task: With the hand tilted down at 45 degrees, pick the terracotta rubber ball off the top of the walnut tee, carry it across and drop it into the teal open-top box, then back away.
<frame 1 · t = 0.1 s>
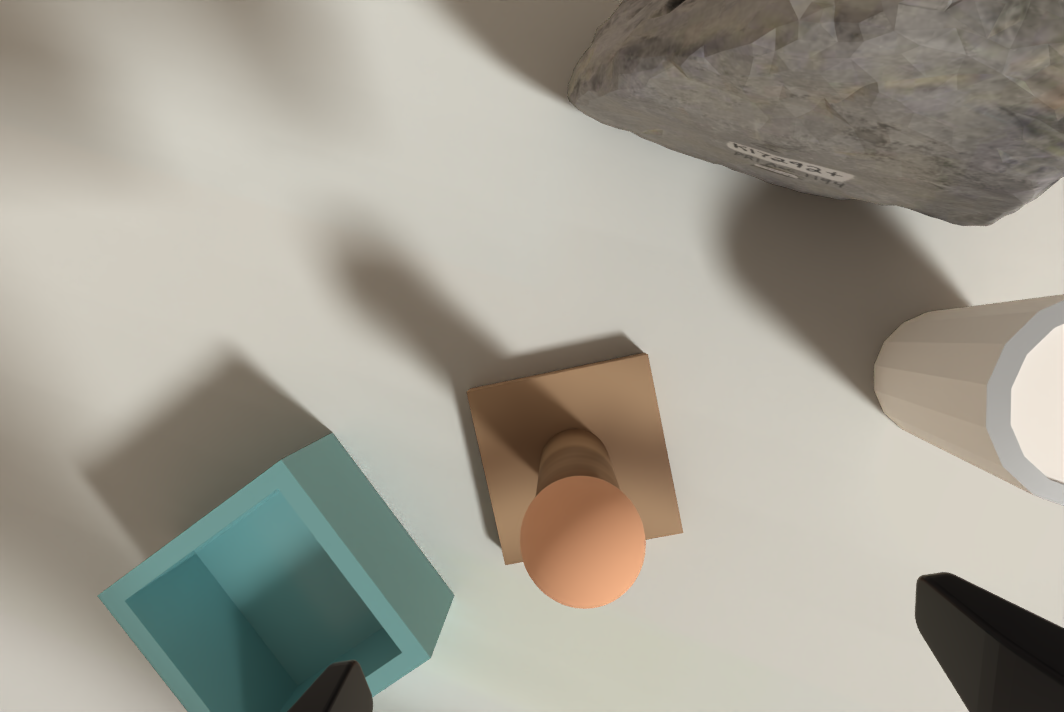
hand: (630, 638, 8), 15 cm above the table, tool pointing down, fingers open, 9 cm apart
ball: (579, 515, 17), point 7 cm above the table, touching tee
teal open-top box: (315, 570, 25), on the table
decorative rock: (756, 138, 23), on the table
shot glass: (936, 374, 23), on the table
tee: (574, 456, 24), on the table
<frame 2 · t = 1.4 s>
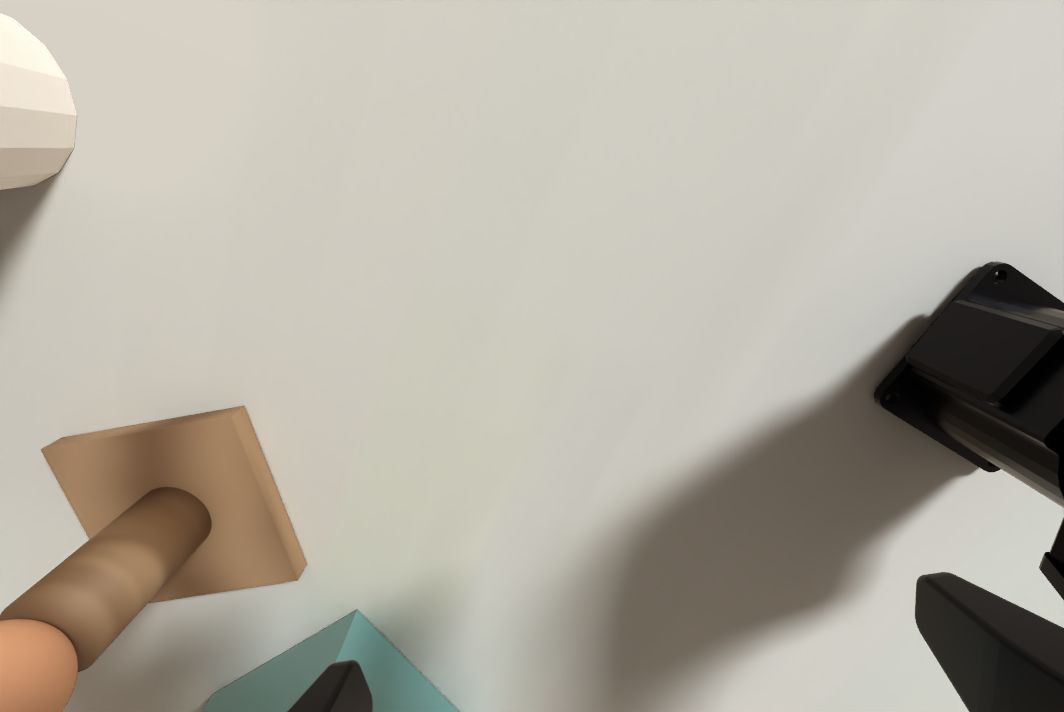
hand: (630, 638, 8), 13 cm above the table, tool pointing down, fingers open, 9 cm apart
ball: (48, 637, 16), point 7 cm above the table, touching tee
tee: (190, 503, 23), on the table
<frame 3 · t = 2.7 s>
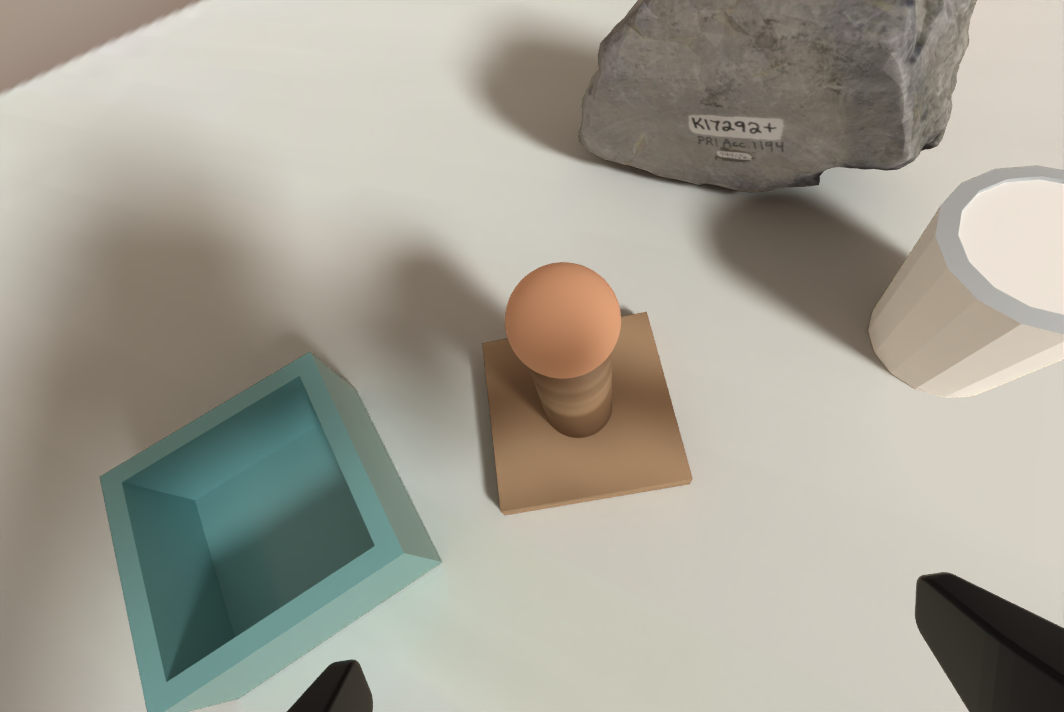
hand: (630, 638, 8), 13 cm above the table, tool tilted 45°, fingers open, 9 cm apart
ball: (567, 346, 18), point 7 cm above the table, touching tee
teal open-top box: (303, 527, 24), on the table
decorative rock: (727, 176, 29), on the table
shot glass: (935, 340, 24), on the table
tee: (579, 412, 24), on the table
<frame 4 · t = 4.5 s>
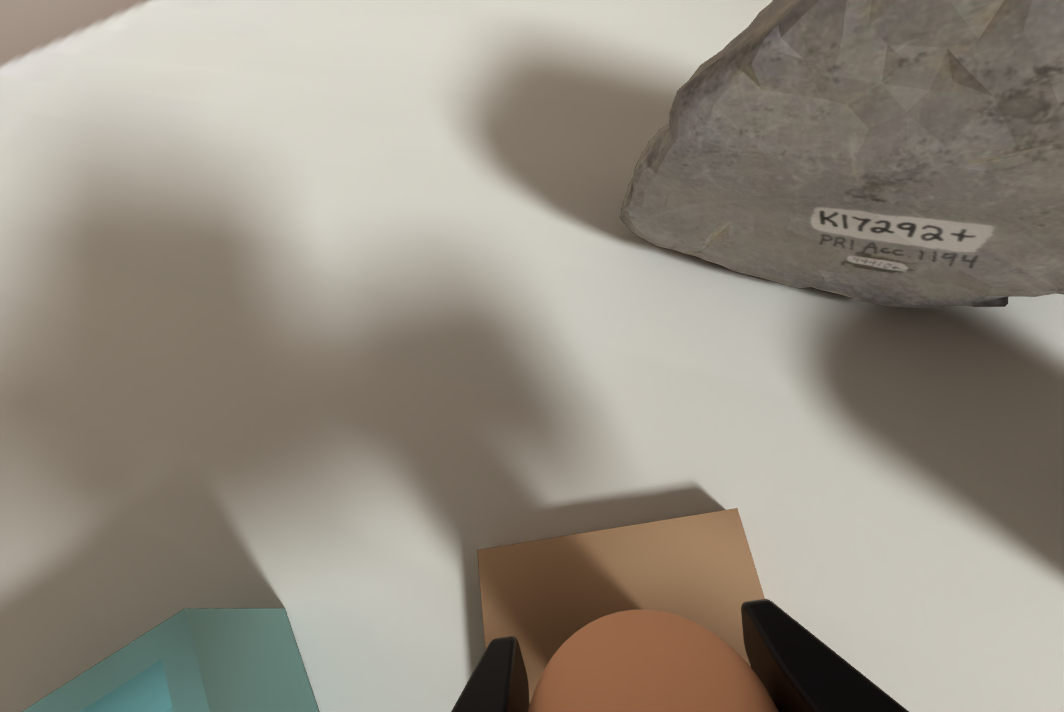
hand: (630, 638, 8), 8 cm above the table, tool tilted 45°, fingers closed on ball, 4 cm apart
decorative rock: (836, 271, 20), on the table
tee: (632, 677, 15), on the table
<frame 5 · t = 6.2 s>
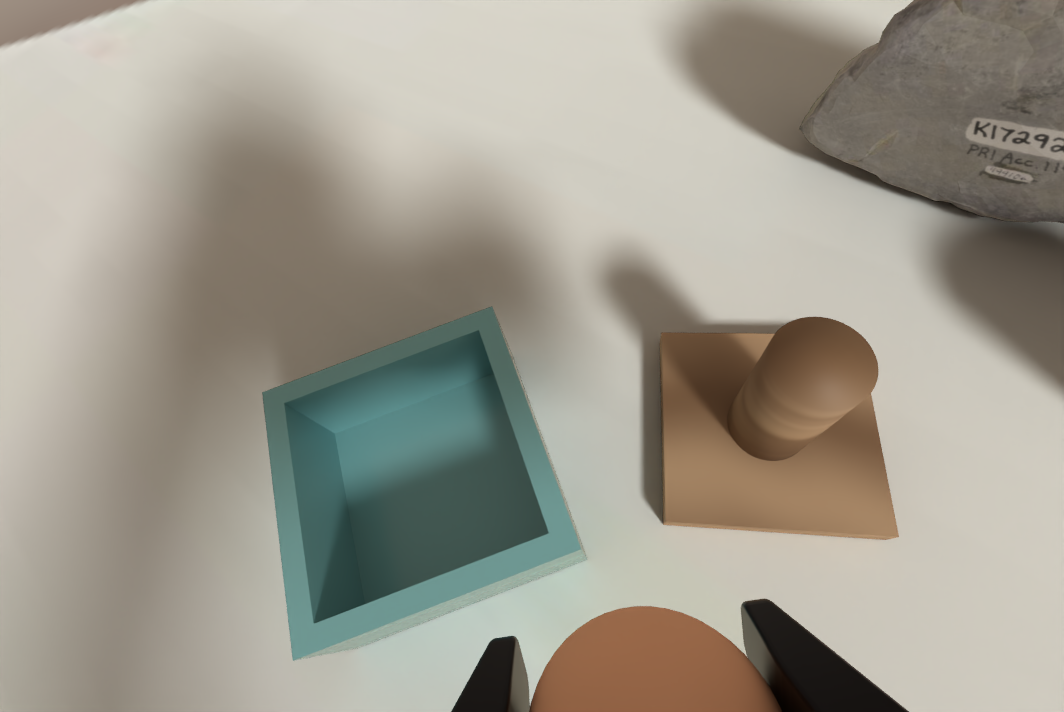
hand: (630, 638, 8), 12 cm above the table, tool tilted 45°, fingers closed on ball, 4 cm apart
teal open-top box: (441, 486, 22), on the table
decorative rock: (966, 197, 25), on the table
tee: (760, 430, 22), on the table
when the fingers open (7 cm above the table, at t = 8.2 s): ball drops 5 cm, resting on teal open-top box.
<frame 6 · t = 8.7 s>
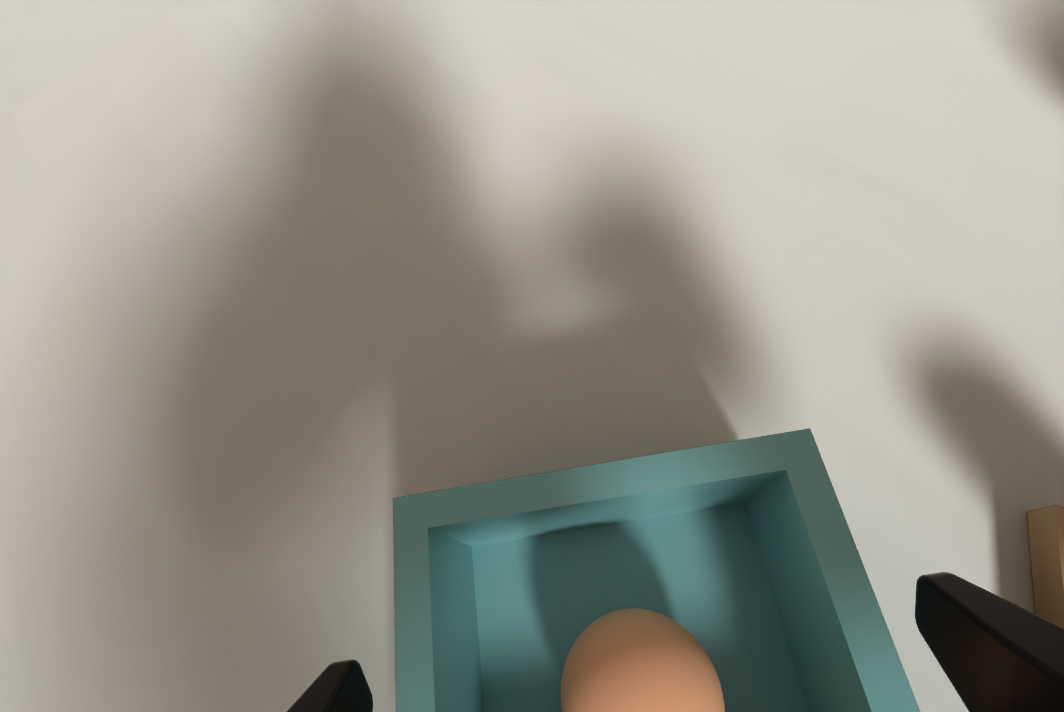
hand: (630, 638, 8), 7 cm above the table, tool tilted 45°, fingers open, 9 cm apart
ball: (634, 685, 13), resting on teal open-top box
teal open-top box: (634, 683, 14), on the table
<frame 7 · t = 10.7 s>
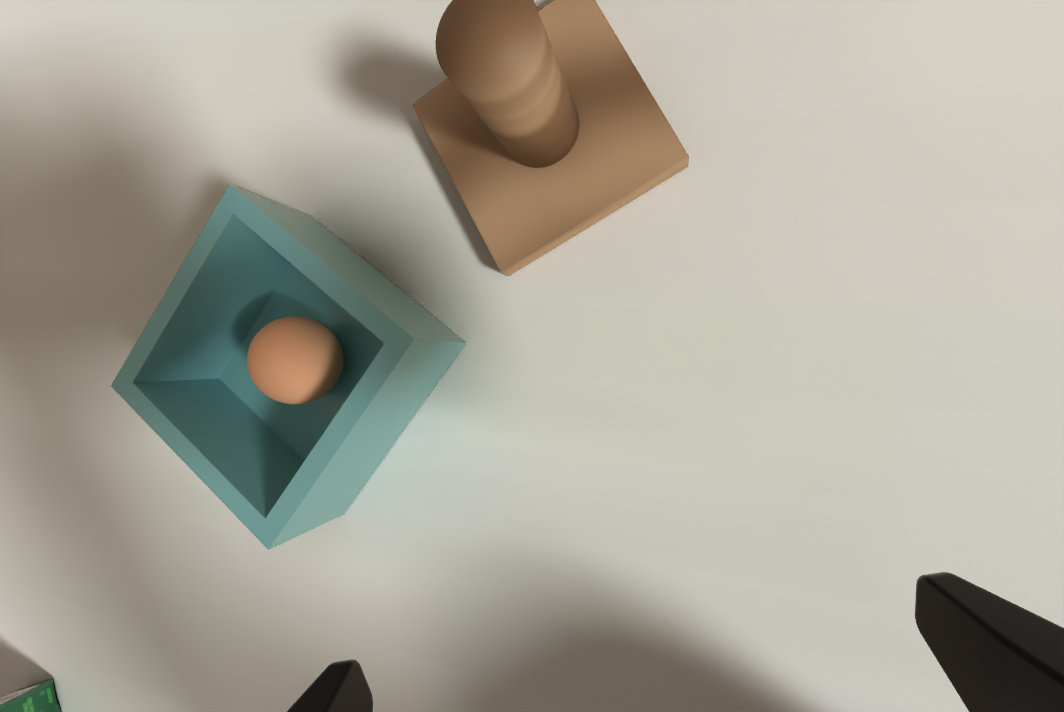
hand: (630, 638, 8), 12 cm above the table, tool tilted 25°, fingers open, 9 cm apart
ball: (320, 363, 23), resting on teal open-top box, tilted 9°
teal open-top box: (327, 363, 24), on the table
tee: (546, 139, 21), on the table
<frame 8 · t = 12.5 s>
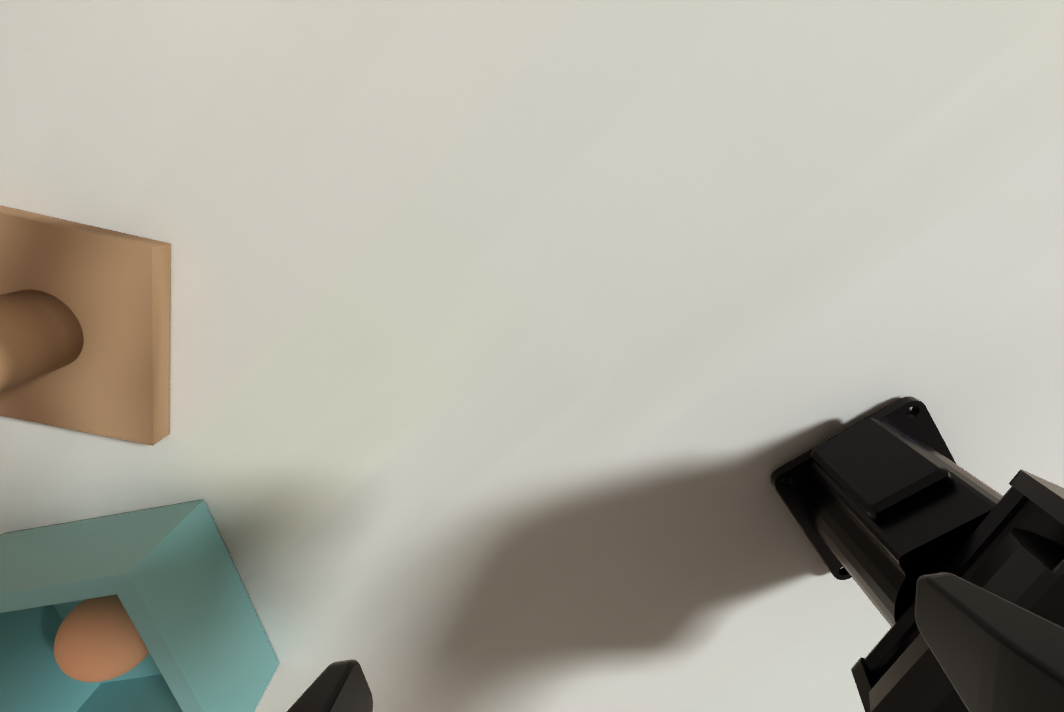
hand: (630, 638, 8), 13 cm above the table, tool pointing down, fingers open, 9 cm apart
ball: (141, 609, 24), resting on teal open-top box, tilted 15°
teal open-top box: (147, 601, 25), on the table
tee: (64, 322, 20), on the table
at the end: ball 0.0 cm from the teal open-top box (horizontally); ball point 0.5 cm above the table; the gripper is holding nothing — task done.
